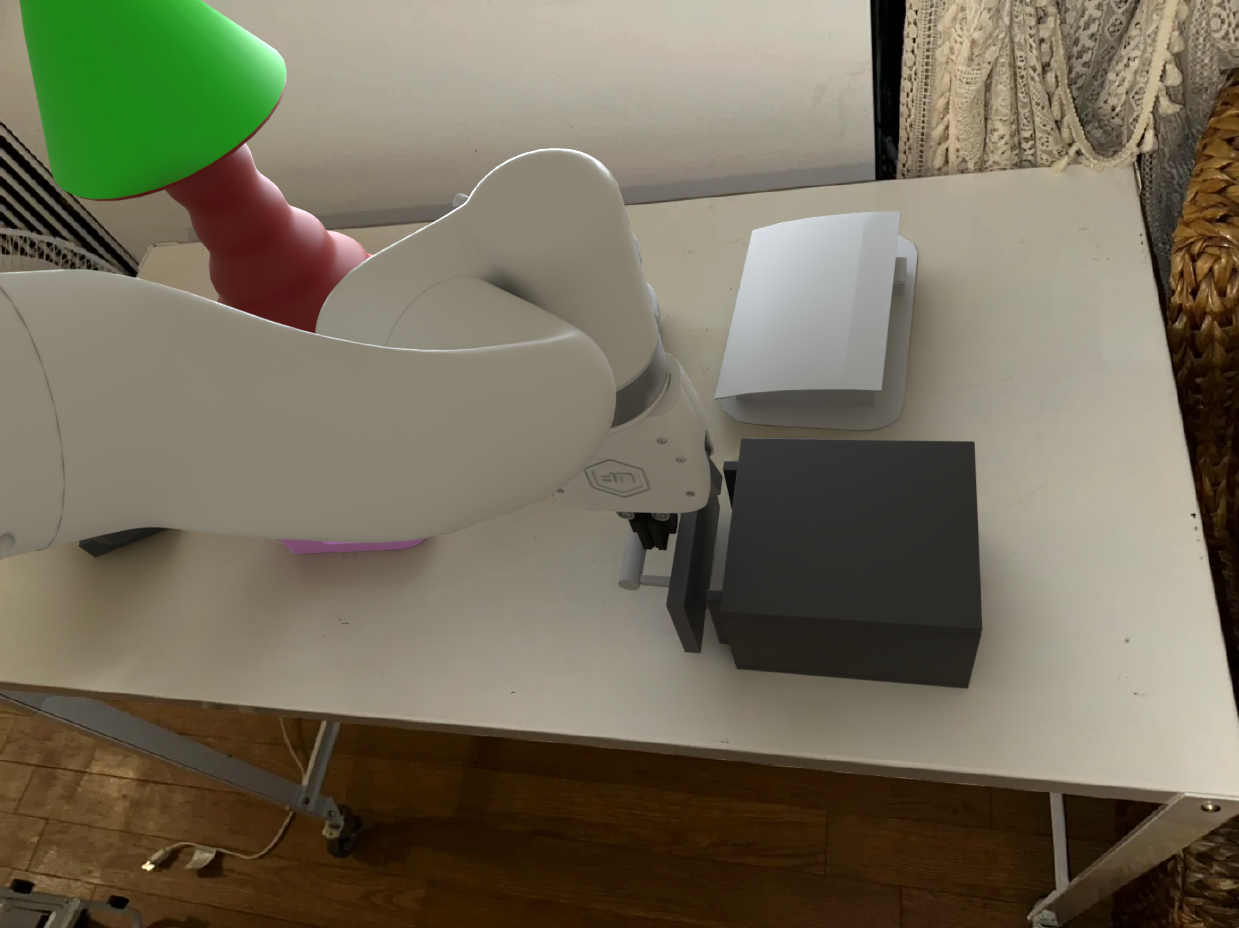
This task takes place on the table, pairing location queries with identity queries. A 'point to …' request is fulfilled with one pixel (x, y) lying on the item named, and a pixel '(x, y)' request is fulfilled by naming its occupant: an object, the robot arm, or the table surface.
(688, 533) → the dark grey drawer
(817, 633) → the dark grey drawer cabinet
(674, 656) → the table surface
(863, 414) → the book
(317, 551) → the bracket
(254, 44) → the table lamp
